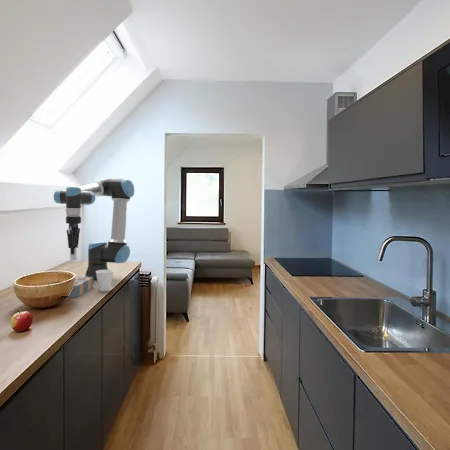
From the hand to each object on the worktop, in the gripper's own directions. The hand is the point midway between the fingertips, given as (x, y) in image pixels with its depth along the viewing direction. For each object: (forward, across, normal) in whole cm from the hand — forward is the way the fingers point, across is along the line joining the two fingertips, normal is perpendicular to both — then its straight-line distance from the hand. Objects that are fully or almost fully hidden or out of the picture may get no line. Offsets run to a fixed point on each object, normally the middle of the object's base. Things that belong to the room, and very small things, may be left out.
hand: (73, 259), depth 216 cm
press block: (+19, -5, 0) cm, 19 cm away
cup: (+19, -10, +14) cm, 25 cm away
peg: (+18, -11, 0) cm, 22 cm away
